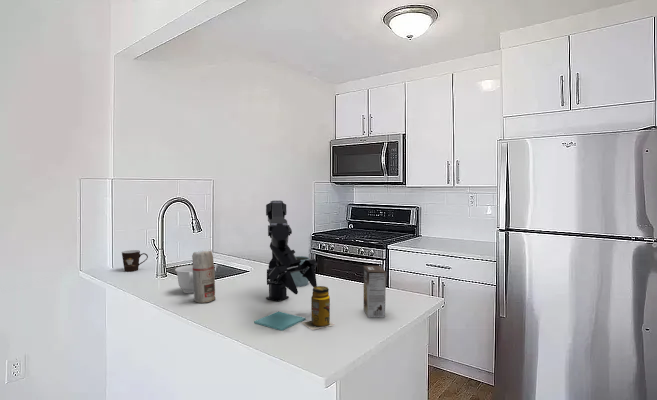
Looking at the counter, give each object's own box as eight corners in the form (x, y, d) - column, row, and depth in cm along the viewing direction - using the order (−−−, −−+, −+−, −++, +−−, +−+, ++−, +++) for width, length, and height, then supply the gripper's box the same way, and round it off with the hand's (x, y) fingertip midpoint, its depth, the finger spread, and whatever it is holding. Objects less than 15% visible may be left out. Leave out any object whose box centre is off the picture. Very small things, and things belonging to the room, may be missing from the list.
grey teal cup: (308, 287, 175) (308, 260, 174) (285, 287, 175) (285, 260, 175) (310, 281, 185) (310, 255, 185) (288, 281, 185) (288, 255, 185)
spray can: (194, 304, 150) (194, 252, 149) (191, 299, 157) (190, 249, 156) (217, 301, 154) (217, 250, 153) (213, 296, 161) (212, 247, 160)
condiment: (335, 325, 129) (335, 288, 128) (312, 330, 124) (312, 292, 124) (322, 318, 135) (322, 283, 134) (301, 323, 130) (301, 287, 130)
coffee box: (362, 309, 145) (362, 265, 144) (380, 308, 145) (380, 265, 145) (367, 317, 136) (367, 271, 135) (385, 317, 136) (386, 270, 135)
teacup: (175, 298, 158) (174, 273, 157) (175, 289, 171) (174, 266, 171) (207, 295, 162) (206, 271, 162) (204, 286, 176) (203, 264, 175)
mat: (254, 323, 131) (254, 321, 131) (278, 313, 141) (278, 311, 141) (281, 330, 124) (281, 328, 124) (305, 319, 134) (305, 317, 134)
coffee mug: (118, 272, 204) (117, 252, 204) (129, 268, 212) (128, 249, 212) (138, 272, 202) (138, 253, 202) (149, 269, 211) (148, 250, 210)
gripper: (290, 263, 148) (312, 298, 142) (251, 271, 134) (273, 311, 127) (306, 244, 143) (329, 280, 136) (267, 251, 128) (291, 291, 122)
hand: (306, 290), depth 131 cm, fingers open, 9 cm apart
